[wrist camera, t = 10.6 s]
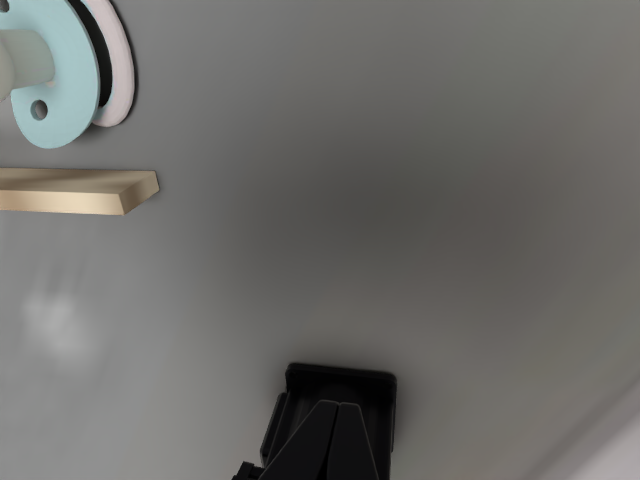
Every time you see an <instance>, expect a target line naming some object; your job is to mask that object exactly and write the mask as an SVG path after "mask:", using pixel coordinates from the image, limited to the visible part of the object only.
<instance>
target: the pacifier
mask: <svg viewBox="0 0 640 480" xmlns="http://www.w3.org/2000/svg"><path fill="white" fill-rule="evenodd" d="M7 1H8V3H9V7H10V8H9V11H8V12H5V11H3V10H1V9H0V102H2V101H3V100H4V99H6V97H7V96H8V95H9V94H10V93H11V102H12V107H13V113H14V116H15V118H16V121H17V124H18V126H19V128H20V130H21V132H22V133H23V134H24V136H25V137H26V138H27V139H28V140H29V141H30V142H31V143H32V144H34V145H36V146H38V147H41V148H47V149H48V148H57V147H61V146H64V145H66V144H68V143H70V142H71V141H73V140H75V139H76V138H77V137H79V136H80V135H81V134H82V133H83V132H84V131H85V130H86V129H87V128H88V127H89V125H90V124H91V122H92V123H93V124H95V125H99V126H104V127H111V126H114V125H118V124H119V123H120V122H121V121H122V120H123V119H124V118H125V117H126V116H127V113H128V111H129V109H130V107H131V105H132V101H133V95H134V88H135V84H134V66H133V61H132V56H131V51H130V47H129V44H128V41H127V38H126V35H125V32H124V29H123V26H122V24H121V22H120V20H119V18H118V16H117V14H116V12H115V10H114V8H113V6H112V5H111V3H110V2H109V0H81V1H82V2H83V3H84V4H85V5H86V7H87V8H88V10H89V11H90V12H91V14H92V15H93V17H94V18H95V20H96V22H97V24H98V26H99V28H100V30H101V32H102V34H103V36H104V39H105V42H106V44H107V47H108V50H109V55H110V59H111V64H112V75H113V83H112V91H111V95H110V97H109V100H108V102H107V103H106V104H105V105H104V107H100V106H98V103H99V97H100V73H99V66H98V61H97V57H96V54H95V50H94V47H93V45H92V42H91V39H90V37H89V34H88V32H87V30H86V28H85V26H84V25H83V23H82V21H81V19H80V18H79V16H78V14H77V13H76V11H75V10H74V8H73V7H72V6H71V4H70V3H69V2H68V1H67V0H7ZM38 100H42V101H44V102H45V103H46V105H47V108H48V113H47V116H46V117H45V119H41V118H39V117H38V116H37V114H36V111H35V106H36V103H37V102H38Z"/></svg>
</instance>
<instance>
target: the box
mask: <svg viewBox="0 0 640 480" xmlns="http://www.w3.org/2000/svg"><path fill="white" fill-rule="evenodd" d="M158 191H159V186H158V182H157V177H156V173H155V171H126V170H80V169H33V168H0V210H19V211H42V212H64V213H87V214H110V215H125V214H127V213H128V212H130V211H131V210H132V209H134V208H135V207H137V206H138V205H139V204H141V203H142V202H144V201H145V200H146V199H148V198H149V197H151V196H152V195H153V194H155V193H156V192H158Z"/></svg>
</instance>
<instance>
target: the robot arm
mask: <svg viewBox="0 0 640 480" xmlns="http://www.w3.org/2000/svg"><path fill="white" fill-rule="evenodd" d="M293 372H294V373H293ZM295 373H296V374H295ZM285 376H286V385H287V393H284V392H282V393H281V394H280V395H279V396H278V399H277V402H276V405H275V408H274V411H273V414H272V417H271V419H270V422H269V425H268V428H267V431H266V434H265V437H264V440H263V443H262V446H261V448H260V457H261V463H262V468H261V467H257V466H254V464H253V463H249V462H245V461H243V463H242V465H241V467H240V469H239V471H238V473H237V475H234V476H233V478H232V480H390V467H391V453H392V452H393V443H394V425H395V408H396V390H397V380H396V378H395V377H394V376H392V375H389V374H381V373H371V372H362V371H353V370H344V369H335V368H325V367H316V366H307V365H298V364H291V365H289V366H288V367H287V370H286V373H285ZM386 383H390V384H386Z"/></svg>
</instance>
